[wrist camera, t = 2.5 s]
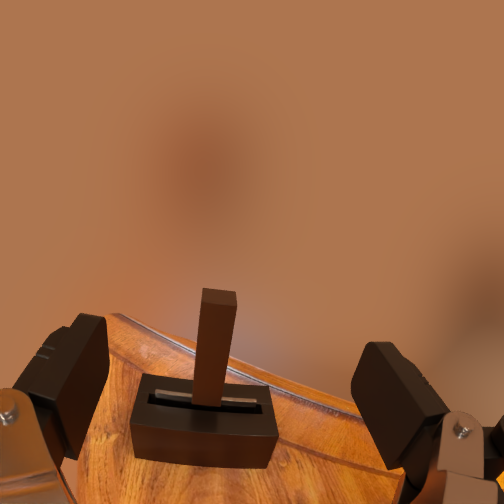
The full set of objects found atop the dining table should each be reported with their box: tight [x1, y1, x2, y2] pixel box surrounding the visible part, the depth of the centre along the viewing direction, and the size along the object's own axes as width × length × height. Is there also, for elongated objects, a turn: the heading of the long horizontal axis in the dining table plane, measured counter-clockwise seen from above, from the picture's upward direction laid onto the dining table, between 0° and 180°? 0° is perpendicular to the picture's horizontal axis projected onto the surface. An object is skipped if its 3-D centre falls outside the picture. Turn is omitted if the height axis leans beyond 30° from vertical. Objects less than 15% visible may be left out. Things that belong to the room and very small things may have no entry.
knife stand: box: [130, 373, 279, 469], centre depth 24 cm, size 6×11×5 cm, turn 96°
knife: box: [155, 288, 257, 414], centre depth 23 cm, size 2×8×15 cm, turn 96°
